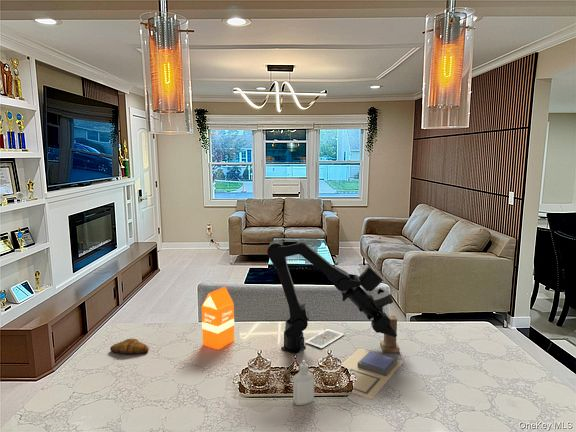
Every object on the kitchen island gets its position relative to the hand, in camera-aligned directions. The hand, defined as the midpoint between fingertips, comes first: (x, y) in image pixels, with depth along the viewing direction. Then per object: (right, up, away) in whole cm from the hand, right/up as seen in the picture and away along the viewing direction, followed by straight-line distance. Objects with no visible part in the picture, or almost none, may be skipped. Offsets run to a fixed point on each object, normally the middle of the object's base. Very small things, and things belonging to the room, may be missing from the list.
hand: (392, 330), depth 139 cm
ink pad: (-8, -8, -10) cm, 15 cm away
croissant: (-92, -8, -1) cm, 92 cm away
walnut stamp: (-1, -7, +1) cm, 7 cm away
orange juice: (-62, -6, +6) cm, 63 cm away
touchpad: (-23, -7, +9) cm, 26 cm away
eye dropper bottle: (-32, -11, -29) cm, 45 cm away
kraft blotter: (-12, -9, -13) cm, 20 cm away
